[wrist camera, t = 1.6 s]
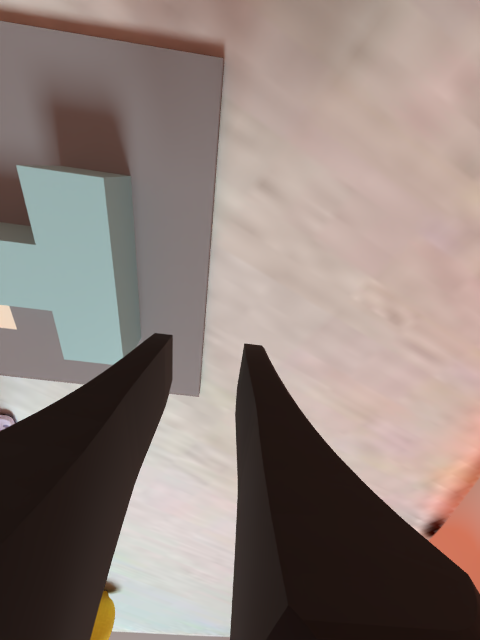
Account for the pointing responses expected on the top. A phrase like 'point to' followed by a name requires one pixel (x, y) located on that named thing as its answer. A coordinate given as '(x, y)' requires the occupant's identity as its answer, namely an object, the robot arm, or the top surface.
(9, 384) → the top surface
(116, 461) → the robot arm
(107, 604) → the lemon
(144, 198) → the mat
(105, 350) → the t block
